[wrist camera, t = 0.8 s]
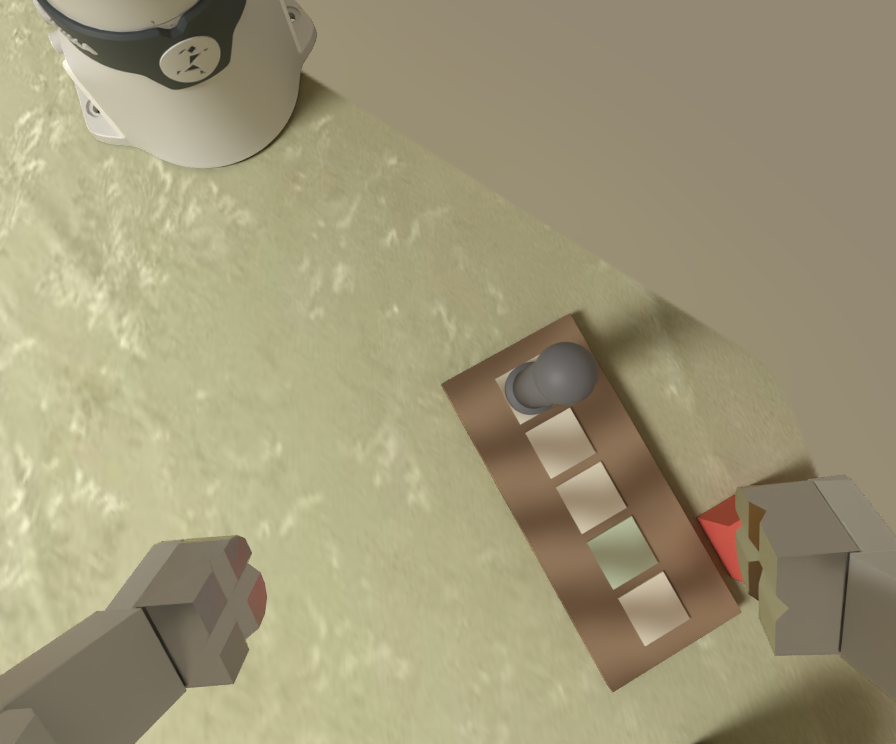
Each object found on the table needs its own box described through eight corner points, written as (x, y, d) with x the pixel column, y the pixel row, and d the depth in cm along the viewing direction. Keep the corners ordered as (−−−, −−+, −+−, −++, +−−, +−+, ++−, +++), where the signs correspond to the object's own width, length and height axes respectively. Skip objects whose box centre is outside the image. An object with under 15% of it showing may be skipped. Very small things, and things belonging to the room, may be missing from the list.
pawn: (495, 379, 47) (525, 356, 34) (539, 354, 48) (585, 322, 35) (520, 424, 47) (560, 418, 34) (565, 399, 47) (621, 384, 35)
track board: (441, 385, 48) (441, 383, 47) (566, 316, 49) (570, 312, 48) (607, 685, 47) (613, 693, 45) (733, 607, 48) (743, 612, 46)
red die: (696, 517, 48) (729, 526, 43) (751, 484, 49) (790, 489, 44) (730, 577, 48) (768, 593, 43) (785, 543, 48) (829, 555, 43)
